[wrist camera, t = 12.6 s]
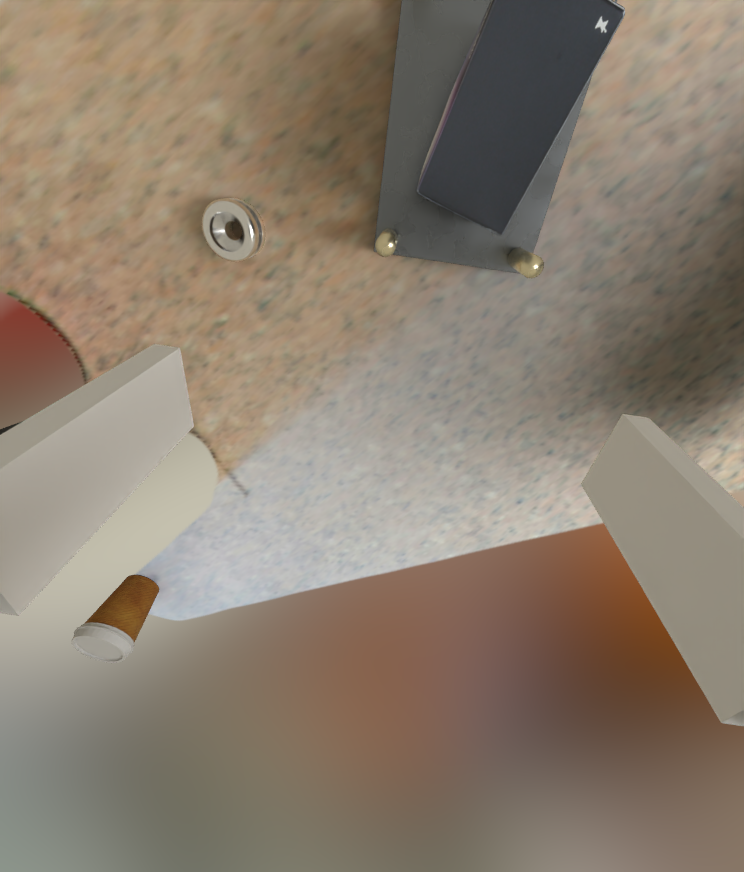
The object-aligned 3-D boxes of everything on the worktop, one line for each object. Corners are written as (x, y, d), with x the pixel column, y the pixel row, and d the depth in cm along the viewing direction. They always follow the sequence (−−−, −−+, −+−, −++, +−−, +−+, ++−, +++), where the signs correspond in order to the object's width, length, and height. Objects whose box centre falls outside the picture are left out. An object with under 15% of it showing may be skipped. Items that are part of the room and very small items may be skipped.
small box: (479, 19, 25) (517, -75, 16) (560, 68, 26) (637, 5, 17) (411, 191, 31) (411, 191, 22) (479, 226, 32) (506, 239, 23)
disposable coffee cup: (107, 570, 68) (55, 635, 58) (150, 567, 67) (105, 633, 57) (135, 600, 73) (92, 664, 63) (176, 598, 72) (139, 663, 62)
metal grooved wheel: (274, 249, 35) (251, 189, 33) (264, 253, 33) (238, 189, 30) (229, 264, 37) (203, 208, 34) (216, 270, 34) (187, 209, 32)
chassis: (615, -18, 24) (674, -78, 19) (521, 271, 34) (542, 285, 29) (408, -48, 24) (408, -116, 19) (374, 249, 35) (368, 260, 29)
